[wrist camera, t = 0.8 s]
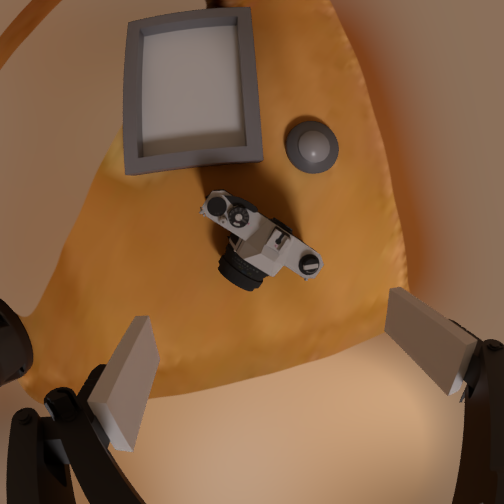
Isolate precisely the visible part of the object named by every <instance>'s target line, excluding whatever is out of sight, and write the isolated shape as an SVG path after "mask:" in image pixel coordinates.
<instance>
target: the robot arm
mask: <svg viewBox="0 0 504 504" xmlns="http://www.w3.org/2000/svg"><path fill="white" fill-rule="evenodd" d="M384 331H385V332H386V333H387V334H388V335H389V336H390V337H391V338H392V339H393V340H394V341H395V342H396V343H397V344H398V345H399V346H400V347H401V348H402V349H403V350H404V351H405V352H406V353H407V354H408V355H409V356H410V357H411V358H412V359H413V360H414V361H415V362H416V363H417V364H418V365H419V366H420V367H421V368H422V369H423V370H424V371H425V373H426V374H428V376H429V377H430V378H431V379H432V380H433V381H434V382H435V383H436V384H437V385H438V386H439V387H440V388H441V389H442V390H443V391H444V392H445V393H446V395H447V396H449V395H451V394H453V393H455V392H457V391H458V390H459V389H460V387H461V385H462V382H463V380H464V381H465V382H466V383H467V386H466V388H465V390H464V392H463V395H462V397H461V399H460V402H462V400H463V399H464V398H465V402H464V403H465V415H464V431H463V442H462V451H461V459H460V466H459V472H458V478H457V483H456V488H455V493H454V497H453V501H452V504H504V345H503V344H502V343H501V342H499V341H497V340H493V339H488V340H485V341H484V342H483V341H482V340H480V339H479V338H478V337H476V336H475V335H473V334H472V333H471V332H469V331H466V329H465V328H464V327H461V325H459V324H458V323H456V322H455V321H453V320H450V319H447V318H446V317H444V316H443V315H441V314H440V313H438V312H437V311H436V310H434V309H433V308H431V307H430V306H428V305H427V304H425V303H424V302H422V301H421V300H419V299H418V298H416V297H415V296H413V295H412V294H410V293H409V292H407V291H406V290H404V289H403V288H401V287H397V288H391V289H390V291H389V300H388V308H387V316H386V323H385V330H384ZM159 361H160V357H159V354H158V350H157V346H156V342H155V338H154V334H153V330H152V326H151V322H150V318H149V316H135V318H134V319H133V321H132V323H131V324H130V326H129V328H128V329H127V331H126V333H125V334H124V336H123V338H122V339H121V341H120V343H119V345H118V346H117V348H116V350H115V351H114V353H113V355H112V357H111V358H110V360H109V362H108V364H107V365H106V364H99V365H98V366H97V367H96V368H95V369H93V370H92V371H91V373H90V375H89V376H88V379H87V380H86V381H85V383H84V385H83V386H82V388H81V390H80V392H79V393H78V395H77V396H76V394H75V393H74V391H73V390H72V389H70V388H68V387H60V388H56V389H54V390H52V391H50V392H49V393H48V394H47V395H46V396H45V398H44V405H45V407H46V408H47V410H48V412H49V413H50V415H51V416H52V417H40V416H39V415H38V413H37V412H36V411H35V410H34V409H32V408H23V409H21V410H19V411H17V412H16V413H15V414H14V416H13V418H12V423H11V429H10V437H9V446H8V458H7V481H6V482H7V483H6V487H7V489H6V490H7V504H76V502H75V497H74V492H73V486H72V480H71V475H70V467H69V464H71V467H72V469H73V471H74V473H75V476H76V478H77V480H78V482H79V484H80V486H81V488H82V490H83V492H84V494H85V496H86V498H87V499H88V501H89V503H90V504H146V503H145V502H144V500H143V499H142V498H141V497H140V495H139V494H138V493H137V491H136V490H135V489H134V487H133V486H132V485H131V483H130V482H129V481H128V479H127V478H126V476H125V475H124V473H123V472H122V470H121V469H120V467H119V466H118V464H117V463H116V461H115V459H114V458H113V456H112V455H111V453H110V452H109V450H108V449H107V448H108V445H109V442H111V444H112V445H113V447H114V448H115V449H116V450H121V451H129V452H133V450H134V446H135V442H136V439H137V435H138V431H139V428H140V424H141V421H142V417H143V414H144V410H145V407H146V403H147V400H148V397H149V393H150V390H151V387H152V383H153V380H154V377H155V374H156V371H157V367H158V364H159ZM32 363H33V351H32V346H31V343H30V340H29V337H28V335H27V333H26V330H25V328H24V327H23V325H22V323H21V321H20V320H19V318H18V317H17V315H16V314H15V313H14V311H13V310H12V309H11V308H10V307H9V306H8V305H7V304H6V303H5V302H4V301H3V300H2V299H0V387H1V386H2V385H5V384H7V383H9V382H11V381H14V380H16V379H18V378H20V377H22V376H24V375H25V374H26V373H27V371H28V370H29V369H30V368H31V366H32Z"/></svg>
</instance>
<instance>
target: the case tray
mask: <svg viewBox="0 0 504 504" xmlns="http://www.w3.org/2000/svg"><path fill="white" fill-rule="evenodd" d="M123 142H124V163H125V175H141V174H147V173H154V172H161V171H169V170H177V169H185V168H194V167H204V166H214V165H226V164H239V163H254V162H261V161H262V160H263V148H262V135H261V121H260V109H259V96H258V84H257V73H256V61H255V50H254V39H253V29H252V19H251V9H250V7H230V8H213V9H202V10H192V11H185V12H178V13H171V14H165V15H160V16H155V17H150V18H145V19H140V20H136V21H132V22H129V23H128V30H127V39H126V50H125V64H124V84H123Z"/></svg>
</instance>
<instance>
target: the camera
mask: <svg viewBox="0 0 504 504" xmlns="http://www.w3.org/2000/svg"><path fill="white" fill-rule="evenodd" d="M206 198H207V200H206V201H205V203H204V204H203V206H202V208H203V210H202V208H201V207H200V209H201V211H200V212H199V213H200V214H202V213H203V215H204V217H205V214H206V216H207V217H208V218H210V219H211V220H213V221H215V222H216V223H218V224H219V225H221V226H223V227H224V228H226V229H227V230H229V231H231V232H232V233H231V235H230V236H228V239H229V242H230V244H228V245H227V247H226V253H225V255H222V257H221V258H220V260H219V264H220V266H219V267H218V270H219V271H220V273H221V274H222V275H223V276H224V277H225V278H226V279H228V280H229V281H230V282H232V283H233V284H235V285H236V286H238V287H240V288H242V289H244V290H247V291H253V290H254V288H259V287H260V285H261V284H262V282H263V278H265V277H266V276H269V275H270V276H273V277H274V276H275V275H276V274H277V273H278V271H279V270H280V269H281V268H282V267H283V265H284V266H286V267H288V268H289V269H291V270H292V271H294V272H296V273H297V274H299V275H300V276H301V277H303V278H304V280H305V281H307V280H308V278H315V277H316V275H317V274H318V273H319V271H320V270H321V268H322V267H323V265H324V264H323V261H322V258H321V256H320V254H319V253H317V252H316V251H315V250H314V249H312V248H311V247H309V246H308V245H306V244H305V243H304V242H303V241H301V240H300V239H298V238H297V237H295V236H294V235H292V229H291V228H289V227H288V226H286V225H285V224H283V223H282V222H280V221H279V220H277V219H276V218H273V219H271V220H270V219H268V218H267V217H265V216H264V215H262V214H261V213H259V212H258V209H257V208H256V207H255V206H254V205H253V204H251V203H249V202H248V201H246V200H244V199H242V198H239V197H235V196H233V195H232V194H230V193H228V192H227V191H225V190H224V189H222V190H214V191H212V192H211V193H210V194H209V195H208V196H207V197H206ZM204 212H205V214H204Z"/></svg>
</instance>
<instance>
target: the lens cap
mask: <svg viewBox="0 0 504 504" xmlns="http://www.w3.org/2000/svg"><path fill="white" fill-rule="evenodd" d="M338 151H339V147H338V142H337V139H336V137H335V135H334V133H333V132H332V131H331V130H330V129H329V128H328V127H327V126H326V125H324V124H322V123H319V122H316V121H306V122H302V123H300V124H298V125H297V126H295V127H294V128H293V129H292V130H291V131H290V133H289V134H288V136H287V139H286V153H287V156H288V158H289V160H290V162H291V163H292V164H293V165H294V166H295V167H296V168H297V169H299V170H300V171H303V172H306V173H312V174H314V173H321V172H324V171H326V170H328V169H329V168H331V167H332V166H333V164H334V163H335V161H336V159H337V157H338Z"/></svg>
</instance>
